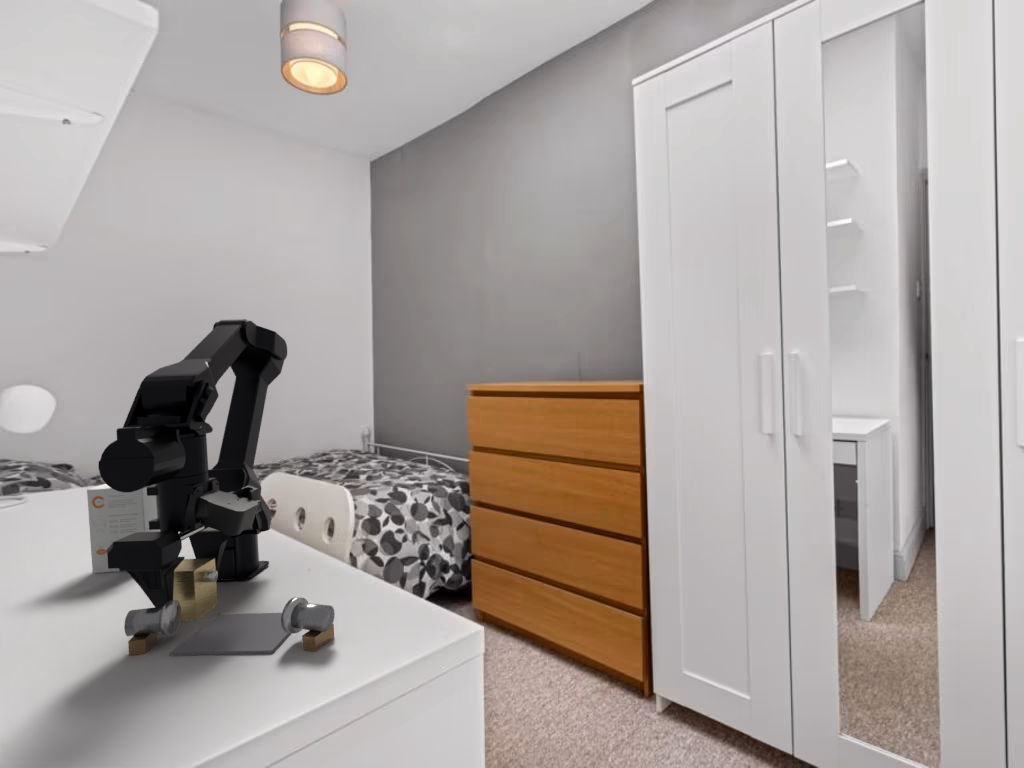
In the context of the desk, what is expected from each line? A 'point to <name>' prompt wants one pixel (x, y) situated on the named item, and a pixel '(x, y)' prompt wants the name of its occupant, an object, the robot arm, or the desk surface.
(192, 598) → the coupler
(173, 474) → the robot arm
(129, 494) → the small box
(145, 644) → the shaft
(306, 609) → the shaft
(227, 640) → the mat
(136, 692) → the desk surface
